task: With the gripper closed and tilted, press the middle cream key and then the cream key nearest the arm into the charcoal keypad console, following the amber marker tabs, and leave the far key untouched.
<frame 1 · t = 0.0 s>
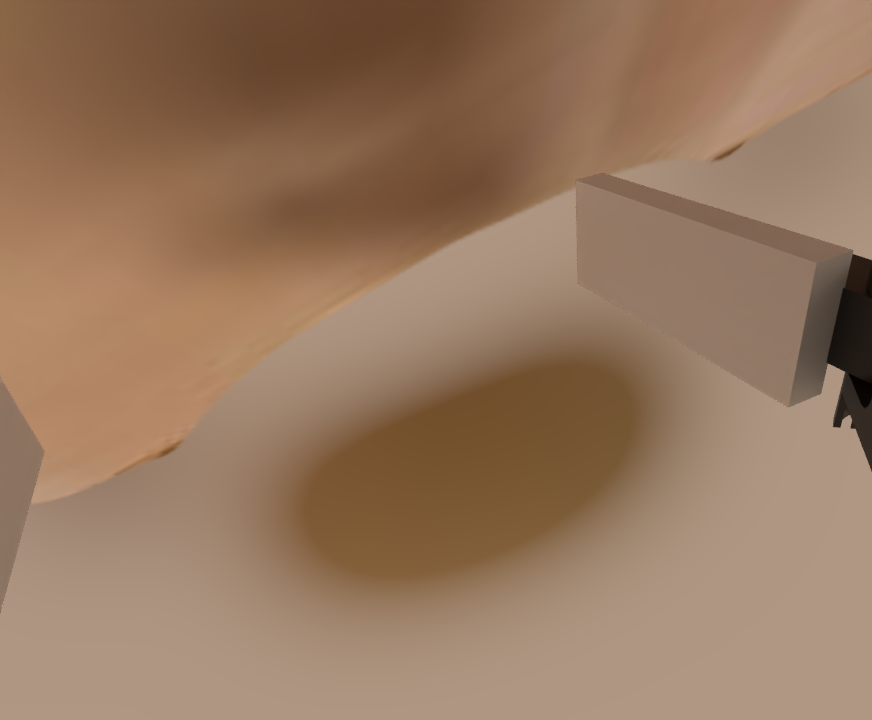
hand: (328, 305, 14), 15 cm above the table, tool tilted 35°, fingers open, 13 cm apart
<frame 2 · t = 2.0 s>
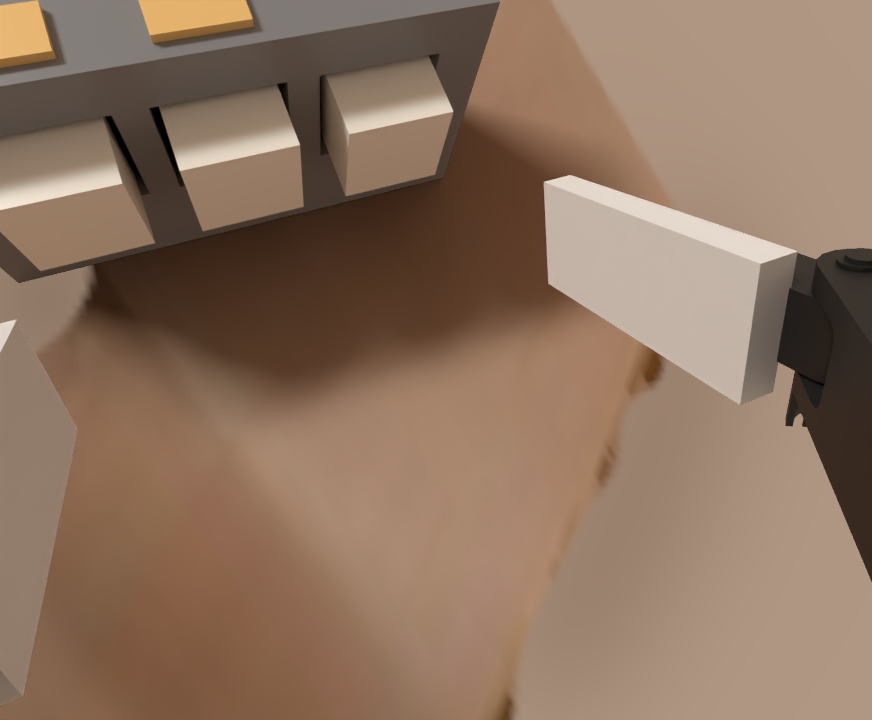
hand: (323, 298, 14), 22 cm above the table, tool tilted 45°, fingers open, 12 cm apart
key middle: (236, 155, 29), point 8 cm above the table, slide at 0.0 cm
keypad: (231, 170, 38), on the table
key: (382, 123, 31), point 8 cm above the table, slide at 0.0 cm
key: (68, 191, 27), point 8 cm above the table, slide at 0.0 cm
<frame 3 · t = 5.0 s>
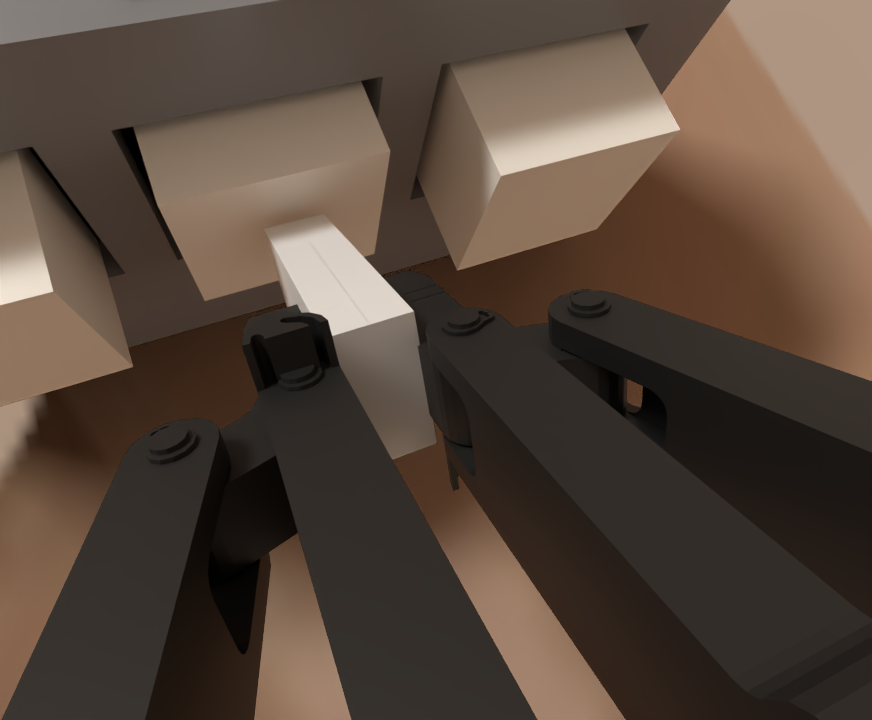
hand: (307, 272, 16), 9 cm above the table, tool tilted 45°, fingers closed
key middle: (263, 170, 16), point 8 cm above the table, slide at 1.3 cm, touching gripper
keypad: (257, 215, 25), on the table
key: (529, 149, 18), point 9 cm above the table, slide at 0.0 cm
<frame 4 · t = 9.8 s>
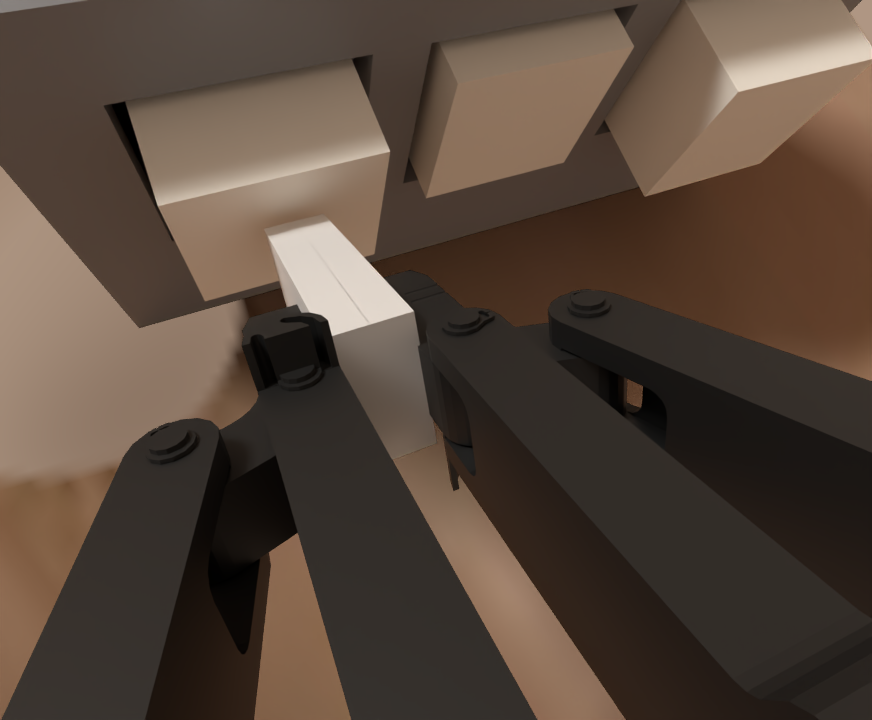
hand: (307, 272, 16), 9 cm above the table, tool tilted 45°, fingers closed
key middle: (494, 75, 19), point 9 cm above the table, slide at 2.1 cm
keypad: (419, 161, 27), on the table
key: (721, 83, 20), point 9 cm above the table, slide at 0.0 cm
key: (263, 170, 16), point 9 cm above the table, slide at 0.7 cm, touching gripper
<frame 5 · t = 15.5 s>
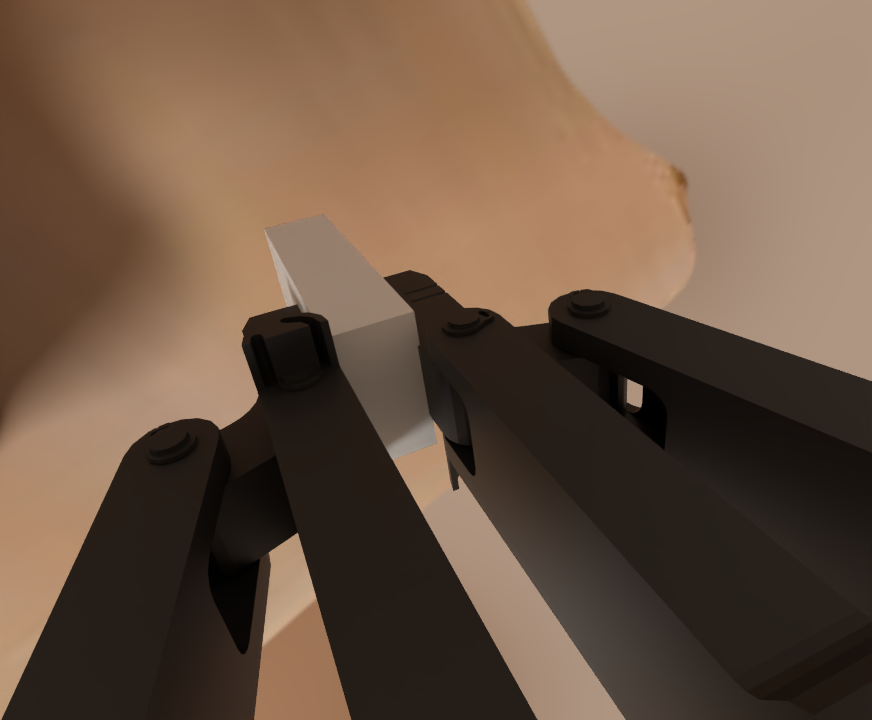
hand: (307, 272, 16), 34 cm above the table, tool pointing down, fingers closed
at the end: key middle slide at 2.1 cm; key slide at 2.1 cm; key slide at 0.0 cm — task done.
